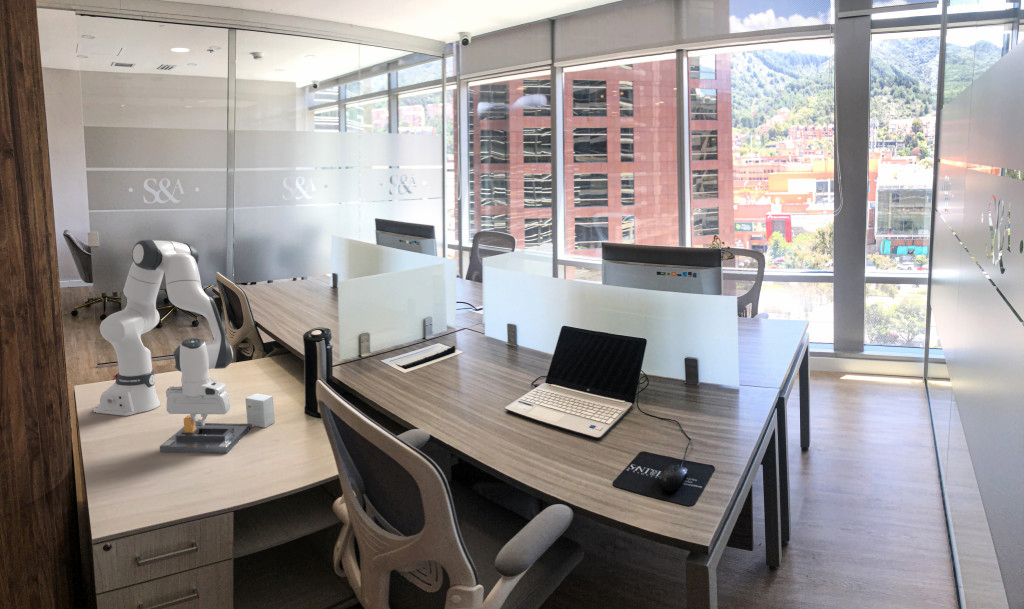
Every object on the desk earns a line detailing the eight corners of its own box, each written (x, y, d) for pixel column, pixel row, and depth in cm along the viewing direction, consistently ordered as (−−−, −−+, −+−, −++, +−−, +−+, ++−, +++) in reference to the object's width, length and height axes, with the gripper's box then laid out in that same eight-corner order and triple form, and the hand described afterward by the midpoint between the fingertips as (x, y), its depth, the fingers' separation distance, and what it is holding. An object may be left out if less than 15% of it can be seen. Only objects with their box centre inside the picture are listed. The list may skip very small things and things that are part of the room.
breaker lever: (181, 437, 221) (180, 419, 220) (187, 432, 225) (186, 414, 224) (193, 437, 221) (192, 419, 220) (199, 432, 225) (198, 415, 224)
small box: (275, 422, 241) (273, 395, 239) (264, 428, 236) (263, 400, 234) (257, 419, 244) (255, 392, 241) (246, 425, 238) (245, 397, 236)
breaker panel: (160, 452, 215) (159, 441, 214) (186, 430, 232) (185, 420, 232) (227, 453, 215) (226, 443, 214) (248, 431, 233) (247, 421, 232)
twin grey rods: (188, 429, 233) (188, 425, 233) (193, 425, 236) (192, 422, 236) (249, 430, 234) (249, 426, 233) (253, 426, 237) (252, 423, 236)
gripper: (160, 389, 216) (164, 428, 219) (222, 390, 217) (225, 429, 220) (170, 383, 223) (173, 421, 226) (230, 384, 223) (233, 422, 226)
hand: (200, 425), depth 223 cm, fingers closed
